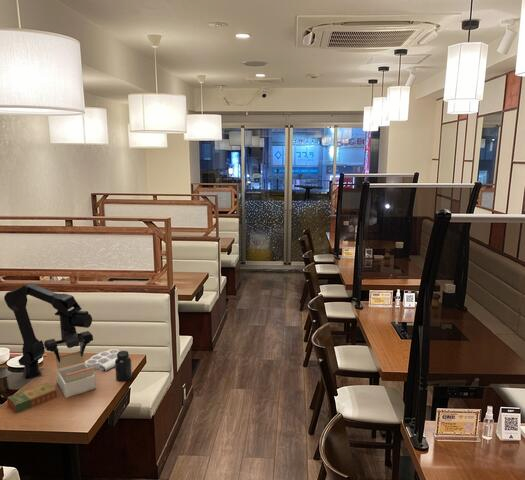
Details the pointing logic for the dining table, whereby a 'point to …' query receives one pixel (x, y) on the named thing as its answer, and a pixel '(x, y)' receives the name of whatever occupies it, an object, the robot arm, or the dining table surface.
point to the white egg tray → (103, 360)
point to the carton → (31, 397)
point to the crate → (74, 381)
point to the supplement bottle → (123, 366)
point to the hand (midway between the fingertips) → (70, 359)
